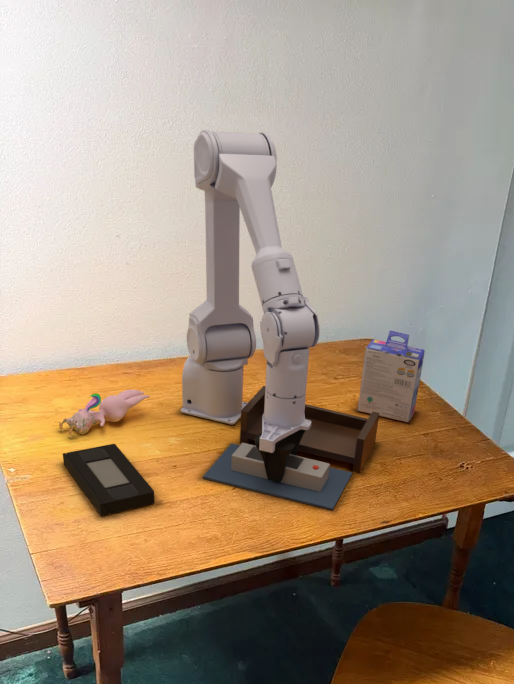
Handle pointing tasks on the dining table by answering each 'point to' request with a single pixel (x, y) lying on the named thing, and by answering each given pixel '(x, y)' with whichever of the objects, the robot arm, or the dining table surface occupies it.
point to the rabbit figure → (103, 410)
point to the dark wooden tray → (320, 432)
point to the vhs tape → (108, 479)
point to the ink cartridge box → (391, 378)
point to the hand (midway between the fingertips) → (280, 471)
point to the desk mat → (279, 483)
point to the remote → (296, 470)
